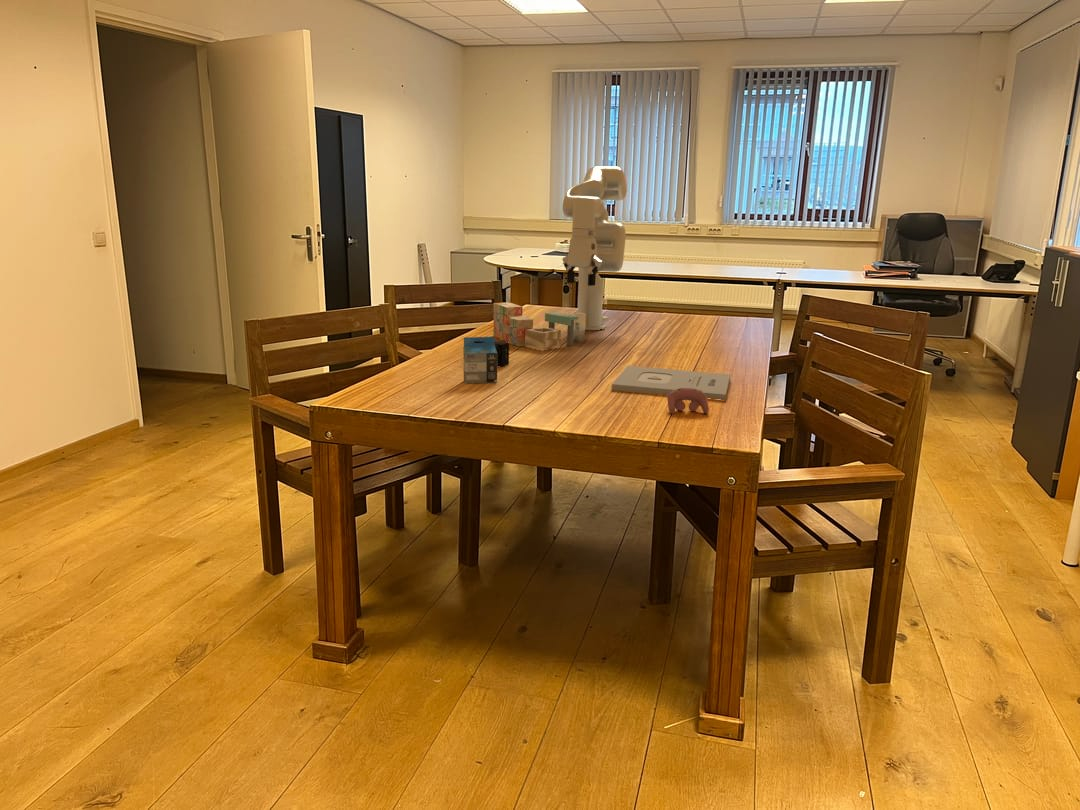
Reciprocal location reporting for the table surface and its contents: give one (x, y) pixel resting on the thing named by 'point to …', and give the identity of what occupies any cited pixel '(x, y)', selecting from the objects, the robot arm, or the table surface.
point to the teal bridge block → (564, 320)
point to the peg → (579, 327)
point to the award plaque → (671, 381)
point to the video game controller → (687, 394)
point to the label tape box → (480, 360)
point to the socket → (542, 338)
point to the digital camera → (500, 352)
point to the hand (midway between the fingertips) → (580, 284)
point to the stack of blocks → (510, 323)
